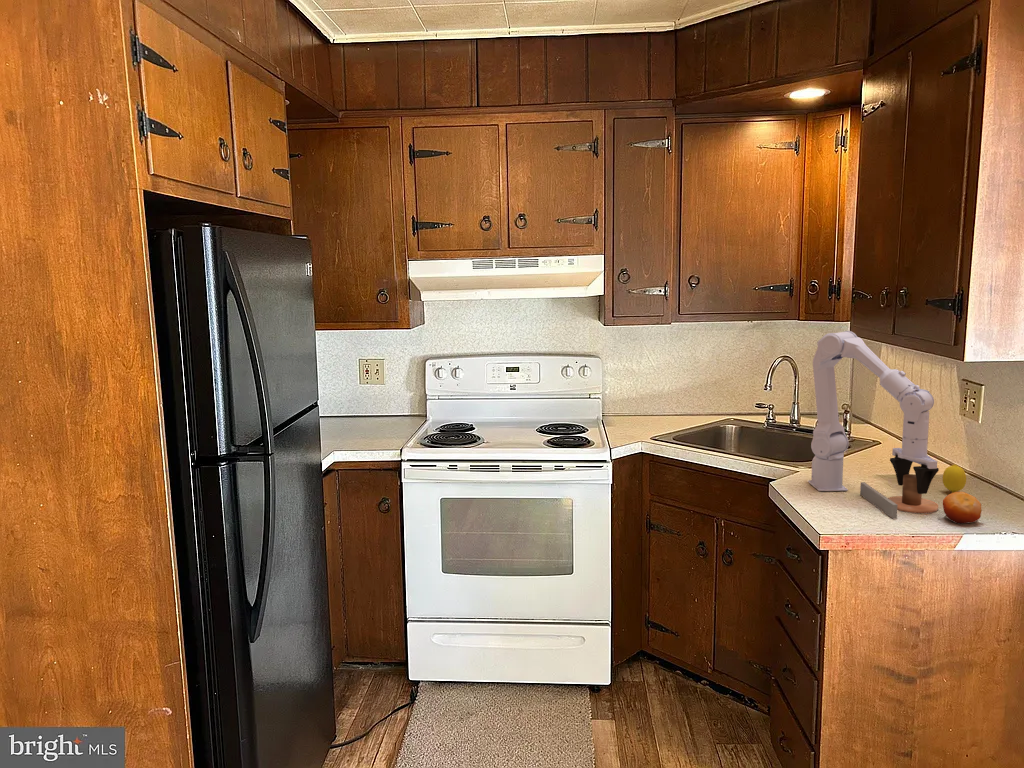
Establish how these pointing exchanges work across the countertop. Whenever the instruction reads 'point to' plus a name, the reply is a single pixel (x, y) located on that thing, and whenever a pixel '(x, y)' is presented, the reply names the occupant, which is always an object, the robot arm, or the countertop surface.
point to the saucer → (925, 506)
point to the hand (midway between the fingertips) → (912, 489)
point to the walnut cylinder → (910, 490)
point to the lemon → (954, 478)
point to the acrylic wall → (879, 500)
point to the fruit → (962, 507)
